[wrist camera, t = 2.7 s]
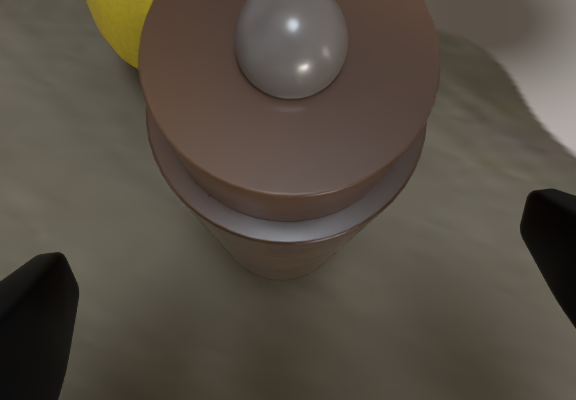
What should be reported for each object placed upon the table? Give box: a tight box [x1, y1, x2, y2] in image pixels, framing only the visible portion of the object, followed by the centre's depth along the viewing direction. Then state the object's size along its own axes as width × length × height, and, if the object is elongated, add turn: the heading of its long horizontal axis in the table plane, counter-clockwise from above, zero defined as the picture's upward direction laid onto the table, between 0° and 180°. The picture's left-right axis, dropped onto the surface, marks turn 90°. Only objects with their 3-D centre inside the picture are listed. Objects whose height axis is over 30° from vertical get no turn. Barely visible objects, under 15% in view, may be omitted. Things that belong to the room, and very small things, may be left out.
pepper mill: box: [138, 0, 440, 280], centre depth 12 cm, size 5×5×14 cm
